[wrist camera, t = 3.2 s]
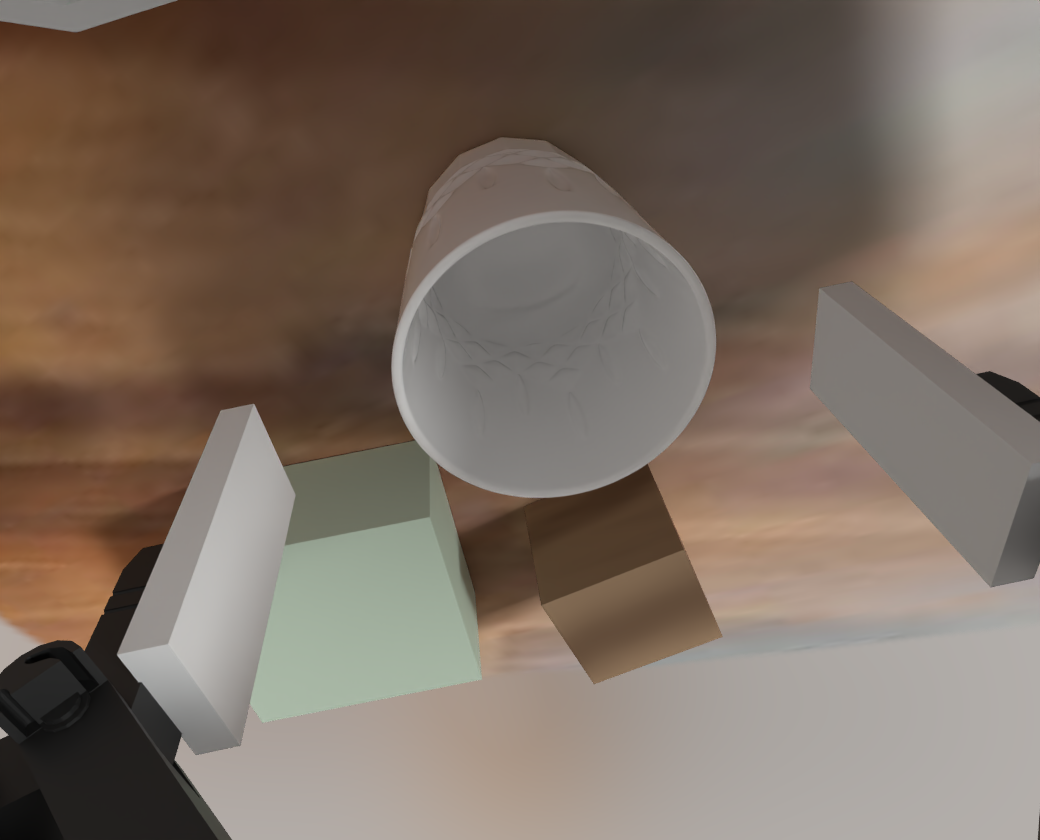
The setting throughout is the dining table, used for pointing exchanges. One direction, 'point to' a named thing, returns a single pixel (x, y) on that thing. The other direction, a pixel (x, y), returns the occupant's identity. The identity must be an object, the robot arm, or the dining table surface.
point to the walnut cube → (617, 576)
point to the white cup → (545, 327)
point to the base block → (367, 588)
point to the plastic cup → (71, 12)
